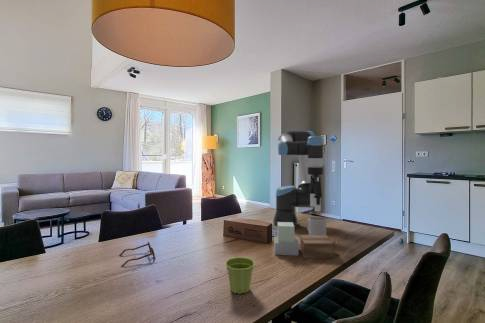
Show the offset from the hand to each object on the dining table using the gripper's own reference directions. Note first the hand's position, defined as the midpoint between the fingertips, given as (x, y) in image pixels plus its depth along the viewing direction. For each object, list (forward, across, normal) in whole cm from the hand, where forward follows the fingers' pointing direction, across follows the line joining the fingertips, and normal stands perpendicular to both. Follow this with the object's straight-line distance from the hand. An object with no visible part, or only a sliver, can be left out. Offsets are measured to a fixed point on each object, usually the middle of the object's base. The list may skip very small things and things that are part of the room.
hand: (315, 208), depth 132 cm
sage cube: (+11, +18, -16) cm, 26 cm away
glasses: (+17, +31, -79) cm, 86 cm away
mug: (+16, 0, 0) cm, 16 cm away
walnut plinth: (+16, +18, -3) cm, 25 cm away
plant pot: (+16, +52, -33) cm, 64 cm away
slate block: (+16, +18, -16) cm, 28 cm away
